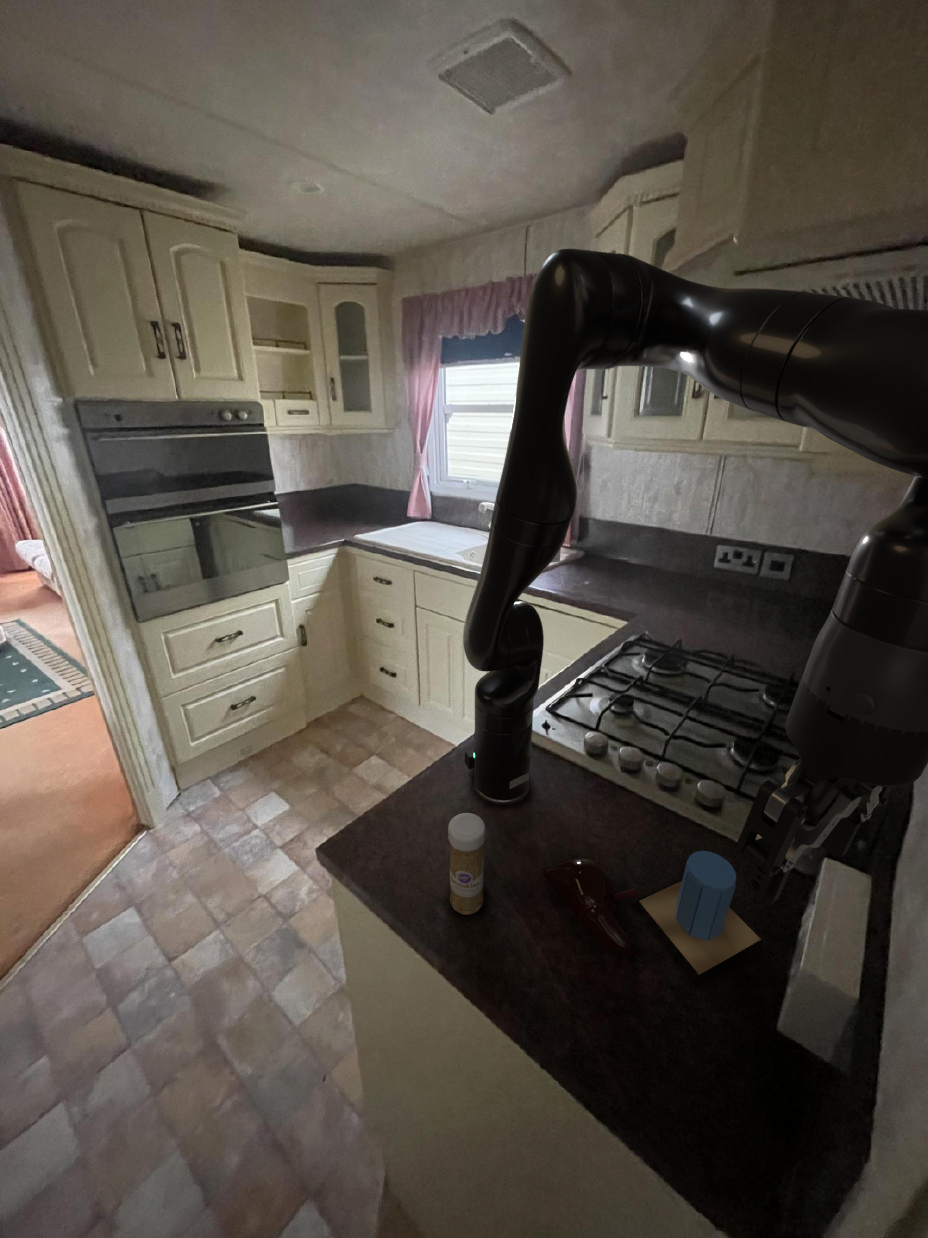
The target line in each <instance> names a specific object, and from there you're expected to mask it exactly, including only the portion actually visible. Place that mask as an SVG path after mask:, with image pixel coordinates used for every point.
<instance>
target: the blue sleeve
mask: <svg viewBox="0 0 928 1238" xmlns="http://www.w3.org/2000/svg"><path fill="white" fill-rule="evenodd" d="M681 881H682V884H681V888H680V892H679V896H678V900H677V904H676V919H677V922H678V923H679V924H680V925H681V926H682V928H683V929H684V930H685V931H686V932H687V933H688V934H689V933H690V936H693V937H696V938H699V939H702V940H705V941H707V939H708V940H709V941H710V940H712V939H713V938H715V937H717V936H719V935H720V934H721V932H722V929H723V926H724V922H725V919H726V916H727V913H728V909H729V907H730V906H731V903H732V900H733V897H734V894H735V891H736V886H737V885H736V882H737V873H736V870H735V869H734V867H733V865H732V864H731V863H730V862H729V861H728V860H727V859H726V858H724V857H723V856H721V855H719V854H717V853H715V852H712V851H707V850H699V851H698V850H697V851H695V852H693V853H692V854H691V855H690V856H689V857H688V858H687V860H686V864H685V867H684V872H683V876H682V880H681Z"/></svg>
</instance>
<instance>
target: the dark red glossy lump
mask: <svg viewBox="0 0 928 1238" xmlns="http://www.w3.org/2000/svg"><path fill="white" fill-rule="evenodd" d="M542 871H543V872H542V873H543V875H544V877H545V878H546V879H547V881H548V882H549V883H550V885H551V886H552V887H553V888H554V890H555V892H557V894H558V896H559V897H560V899H561V900H562V901H563V903H564V905H566V906H567V908H568V909H569V911H571V913H573V915H574V916H576V917H578V918H579V919H580V922H581V925H582V926H583V927H584V928H585V930H587V932H588V933H589V934H591V935H592V937H594V938H595V939H596V940H598V941H599V942H600V943H601V944H603V945H604V946H605V947H607V948H609V949H611V950H613V951H614V952H617V953H619V954H621V955H624V956H632V955H633V954H634V949H633V945H632V943H631V939H630V938H629V936H628V935H627V932H626V931H625V930H624V928H623V927H622V926H621V924H620V923H619V921H618V917H617V910H618V909H617V907H618V905H617V903H618V902H621V901H624V900H629V899H632V898H636V897H639V894H638V891H637V889H636V887H635V888H631V889H627V890H624V891H620V892H617V893H616V891H615V888H614V887H615V886H614V882H613V880H612V877H611V876H610V874H609V873H608V872H607V871H606V870H605V869H604V868H603V867H601V866H600V865H599V863H597V862H596V861H595V860H593V859H591V858H588V857H575V858H572V859H569V860H567V861H564V862H561V863H558V864H555V865H554V866H551V867H548V868H546V869H544V870H542Z"/></svg>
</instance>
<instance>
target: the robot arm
mask: <svg viewBox="0 0 928 1238" xmlns="http://www.w3.org/2000/svg"><path fill="white" fill-rule="evenodd" d="M522 331H523V332H522V340H521V348H520V356H519V365H518V374H517V383H516V392H515V398H514V406H513V413H512V419H511V425H510V426H511V427H510V430H509V431H510V432H509V437H508V442H507V447H506V452H505V456H504V463H503V466H502V471H501V474H500V479H499V483H498V487H497V491H496V496H495V499H494V500H495V501H494V505H493V510H492V515H491V519H490V527H489V532H488V538H487V542H486V543H487V544H486V547H485V552H484V557H483V561H482V565H481V569H480V573H479V576H478V579H477V582H476V586H475V588H474V591H473V595H472V597H471V600H470V603H469V607H468V609H467V613H466V616H465V621H464V625H463V632H462V633H463V634H462V641H463V642H462V643H463V645H462V646H463V651H464V654H465V657H466V660H467V662H468V663H469V664H470V666H472V668H474V669H475V670H477V671H480V672H486V673H485V674H484V675H482V676H481V677H480V678H479V679H478V681H477V682H476V684H475V687H474V733H473V736H474V737H473V739H474V740H473V741H474V742H473V744H474V745H473V748H472V749H468V750H465V751H464V764H465V766H466V767H467V768H468V770H471V769H473V774H474V778H473V789H474V792H475V793H476V795H477V796H478V797H479V798H480V799H481V800H483V801H484V802H486V803H488V804H491V805H494V806H503V807H505V806H513V805H515V804H518V803H520V802H522V801H523V800H524V799H525V798H526V797H527V796H528V794H529V791H530V784H531V783H530V773H531V756H532V741H533V721H534V705H535V703H534V702H535V697H536V695H537V693H538V692H539V687H540V679H541V670H542V662H543V656H544V655H543V654H544V643H545V641H544V640H545V636H544V634H545V633H544V628H543V622H542V619H541V616H540V614H539V612H538V610H537V609H536V608H535V607H534V605H532V604H531V603H529V602H527V601H517V600H518V599H519V598H520V597H521V596H522V594H523V593H524V592H525V591H526V589H528V587H530V586H531V585H532V584H533V583H534V582H535V581H536V579H538V578H539V576H540V575H541V574H542V573H543V572H544V571H545V570H546V569H547V568H548V567H549V566H550V564H552V563H551V562H552V560H553V559H554V558H555V557H556V555H557V554H558V552H559V551H560V549H561V550H562V547H563V545H564V543H565V540H566V537H567V534H568V531H569V528H570V526H571V523H572V521H573V520H572V519H573V516H574V514H575V510H576V507H577V503H578V495H579V494H578V493H579V492H578V491H579V490H578V489H579V488H578V483H577V478H576V473H575V469H574V466H573V462H572V459H571V456H570V452H569V450H568V446H567V442H566V437H565V426H564V425H565V416H566V411H567V405H568V402H569V401H568V400H569V397H570V392H571V388H572V385H573V381H574V378H575V375H576V374H577V371H578V370H599V371H600V370H601V371H604V370H611V369H615V368H619V367H643V368H645V367H647V368H662V369H667V370H672V371H675V372H678V373H681V374H683V375H686V376H688V377H690V378H691V379H692V380H694V381H695V382H696V383H698V384H699V385H700V386H701V387H702V388H703V389H705V390H706V391H707V392H710V393H711V394H712V395H714V396H716V397H718V398H720V399H722V400H724V401H726V402H727V403H729V404H732V405H735V406H738V407H740V408H742V409H744V410H745V409H746V410H748V411H751V412H755V413H758V414H761V415H764V416H766V417H770V418H773V419H776V420H778V421H782V422H784V423H789V424H792V425H795V426H799V427H803V428H808V429H812V430H815V431H817V432H818V433H820V434H821V435H822V436H824V437H826V438H828V439H829V440H830V441H833V442H835V443H837V444H838V445H840V446H842V447H844V448H846V449H848V450H849V451H852V453H855V454H856V455H859V456H860V457H863V458H865V459H867V460H870V461H872V462H873V463H876V464H879V465H881V466H883V467H886V468H889V469H891V470H894V471H897V472H900V473H904V474H907V475H909V476H913V479H912V481H911V483H910V484H909V487H908V488H907V491H906V492H905V495H904V496H903V498H902V500H901V501H900V503H899V504H898V506H897V507H896V508H895V509H894V510H893V511H892V512H891V513H890V514H889V515H887V516H886V517H884V518H883V519H881V520H879V521H877V522H876V523H874V524H873V525H871V526H870V527H869V528H868V529H867V530H866V531H865V532H864V533H863V535H862V536H861V537H860V539H859V540H858V542H857V543H856V545H855V548H854V550H853V552H852V554H851V556H850V558H849V562H848V564H847V566H846V569H845V572H844V575H843V578H842V579H841V583H840V585H839V589H838V592H837V594H836V596H835V600H834V602H833V604H832V608H831V610H830V612H829V615H828V617H827V619H826V620H825V622H824V623H823V626H822V627H821V629H820V631H819V632H818V634H817V636H816V638H815V640H814V643H813V645H812V649H811V651H810V653H809V656H808V660H807V662H806V665H805V667H804V670H803V673H802V676H801V679H800V681H799V684H798V687H797V690H796V692H795V695H794V698H793V700H792V703H791V706H790V709H789V711H788V714H787V717H786V720H785V725H784V727H785V732H786V735H787V738H788V739H789V741H790V743H791V744H792V745H793V747H794V749H795V750H796V752H797V754H798V756H799V759H797V760H796V761H795V762H794V763H793V764H792V765H791V767H789V769H788V771H786V773H785V777H784V778H785V781H784V783H782V785H781V787H780V786H779V785H777V784H776V783H774V782H773V781H771V780H769V779H767V780H766V781H764V782H763V783H761V784H760V786H759V788H758V791H757V792H756V795H755V798H754V800H753V802H752V805H751V807H750V810H749V813H748V815H747V817H746V820H745V823H744V825H743V828H742V830H741V832H740V835H739V837H738V839H737V842H736V845H735V849H736V850H737V851H739V853H741V854H742V855H744V856H745V857H746V858H747V859H748V860H750V862H749V864H748V866H747V869H746V871H745V875H744V877H743V880H744V881H743V882H744V884H745V885H746V886H747V887H748V888H749V889H750V890H751V891H752V892H753V893H754V894H756V896H758V897H759V898H760V899H761V900H762V901H763V902H764V903H766V904H769V905H771V904H773V903H774V902H776V901H778V900H779V898H780V896H781V893H782V892H783V889H784V886H785V885H786V882H787V880H788V878H789V875H790V873H791V871H792V869H793V868H794V867H795V864H796V862H797V861H798V859H799V858H800V857H801V856H802V855H803V853H804V852H805V851H806V849H808V848H811V849H817V848H820V847H821V848H823V849H824V850H825V851H827V852H828V853H830V854H831V855H832V856H833V857H837V858H841V857H843V856H844V855H845V854H847V852H848V851H849V849H850V846H851V845H852V842H853V840H854V838H855V836H856V834H857V832H858V831H859V828H860V827H861V824H862V823H864V822H866V821H869V819H871V817H872V815H873V814H872V813H873V811H874V810H875V808H876V807H877V808H881V807H883V806H886V804H887V803H888V798H889V797H890V795H891V792H892V790H893V789H894V788H895V787H896V788H897V787H903V786H904V787H905V786H908V785H910V784H912V783H915V782H916V781H917V780H919V778H921V776H922V775H923V773H924V771H925V770H926V767H927V766H928V309H913V308H895V307H893V306H890V305H888V304H885V303H882V302H879V301H874V300H870V299H864V298H859V297H850V296H843V295H835V294H827V293H826V294H825V293H818V292H812V291H811V292H810V291H802V290H794V289H793V290H792V289H779V288H755V287H754V288H753V287H752V288H747V287H746V288H744V287H743V288H731V287H729V288H727V287H717V286H711V285H706V284H703V283H698V282H695V281H691V280H689V279H685V278H684V277H681V276H678V275H676V274H673V273H671V272H669V271H667V270H664V269H662V268H659V267H657V266H656V265H652V264H650V263H649V262H647V261H644V260H641V259H640V258H637V257H635V256H633V255H630V254H627V253H619V252H618V253H617V252H615V253H614V252H606V251H597V250H595V251H594V250H591V249H582V248H561V249H558V250H556V251H554V252H553V253H551V254H550V255H549V256H548V257H547V258H546V259H545V260H544V261H543V263H542V264H541V266H540V268H539V270H538V272H537V274H536V276H535V279H534V282H533V284H532V287H531V290H530V294H529V298H528V302H527V308H526V312H525V319H524V325H523V330H522ZM560 552H561V551H560ZM806 820H808V821H809V822H810V823H812V824H814V825H816V826H814V828H813V829H811V830H806V828H804V827H803V826H802V825H803V824H804V823H805V821H806Z"/></svg>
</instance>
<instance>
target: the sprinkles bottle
mask: <svg viewBox="0 0 928 1238" xmlns="http://www.w3.org/2000/svg"><path fill="white" fill-rule="evenodd" d="M447 831H448V832H447V838H448V842H449V886H450V894H449V903H450V905H451V907H452V908H453V910H454V911H455V912H457V913H458V914H459V913H460V915H465V916H468V915H472V914H475V913H477V912H479V910H480V909H481V908H482V907H483V904H484V900H485V898H484V878H485V877H484V873H485V871H484V869H485V853H484V848H485V847H484V846H485V841H486V824H485V822H484V820H483V819H482V818H481V817H480V816H479V815H477V814H474V813H471V812H463V813H459V814H457V815H454V817H452V818H451V819H450V821H449V823H448V828H447Z"/></svg>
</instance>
